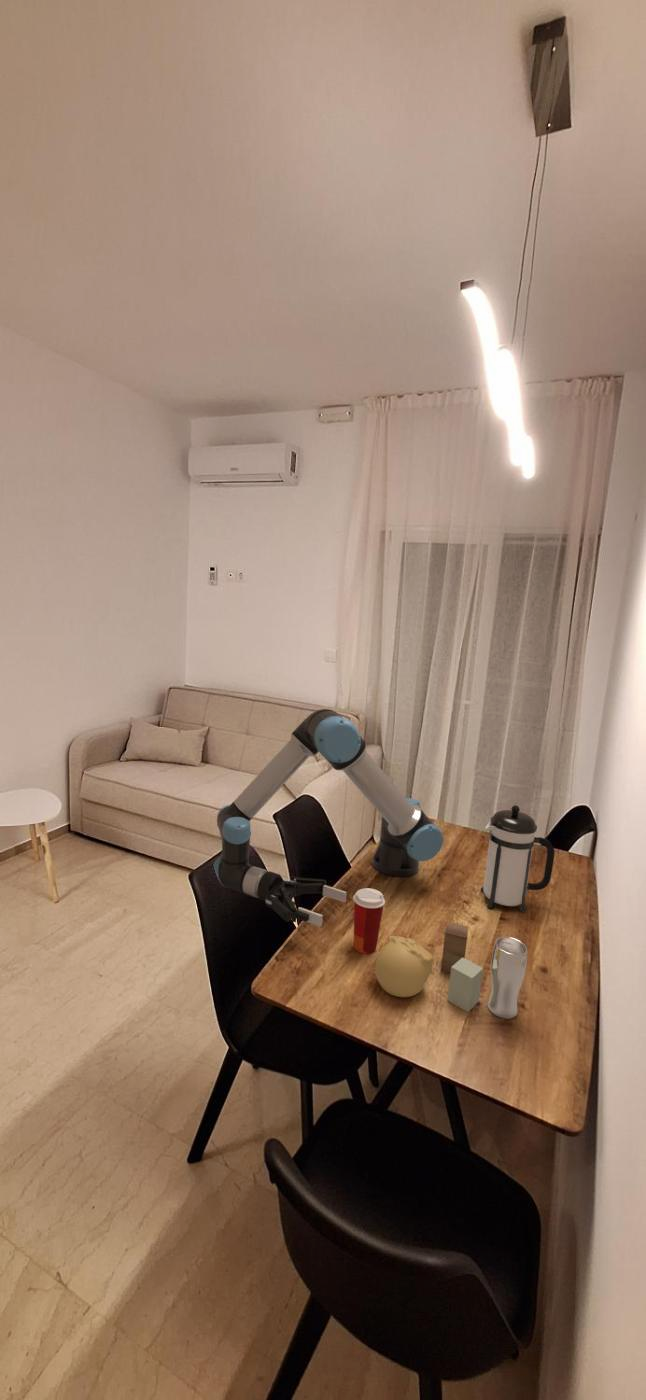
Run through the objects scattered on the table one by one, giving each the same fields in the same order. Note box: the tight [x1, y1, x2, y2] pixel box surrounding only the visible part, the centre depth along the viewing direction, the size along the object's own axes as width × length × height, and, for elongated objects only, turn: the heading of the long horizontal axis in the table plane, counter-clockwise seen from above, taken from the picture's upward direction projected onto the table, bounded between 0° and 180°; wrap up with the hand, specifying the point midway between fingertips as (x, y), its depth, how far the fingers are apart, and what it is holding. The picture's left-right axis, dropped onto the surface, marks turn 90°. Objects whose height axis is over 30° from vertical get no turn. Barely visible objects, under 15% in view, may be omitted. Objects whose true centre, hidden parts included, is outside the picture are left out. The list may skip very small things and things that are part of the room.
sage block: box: [446, 957, 484, 1013], centre depth 123 cm, size 5×5×8 cm
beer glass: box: [487, 936, 528, 1020], centre depth 120 cm, size 7×7×15 cm
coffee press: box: [480, 805, 555, 914], centre depth 165 cm, size 17×16×30 cm
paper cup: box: [352, 887, 386, 955], centre depth 139 cm, size 8×8×14 cm
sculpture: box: [374, 935, 435, 998], centre depth 125 cm, size 12×12×11 cm
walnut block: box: [440, 921, 469, 975], centre depth 133 cm, size 5×5×10 cm
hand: (334, 908), depth 142 cm, fingers open, 13 cm apart
